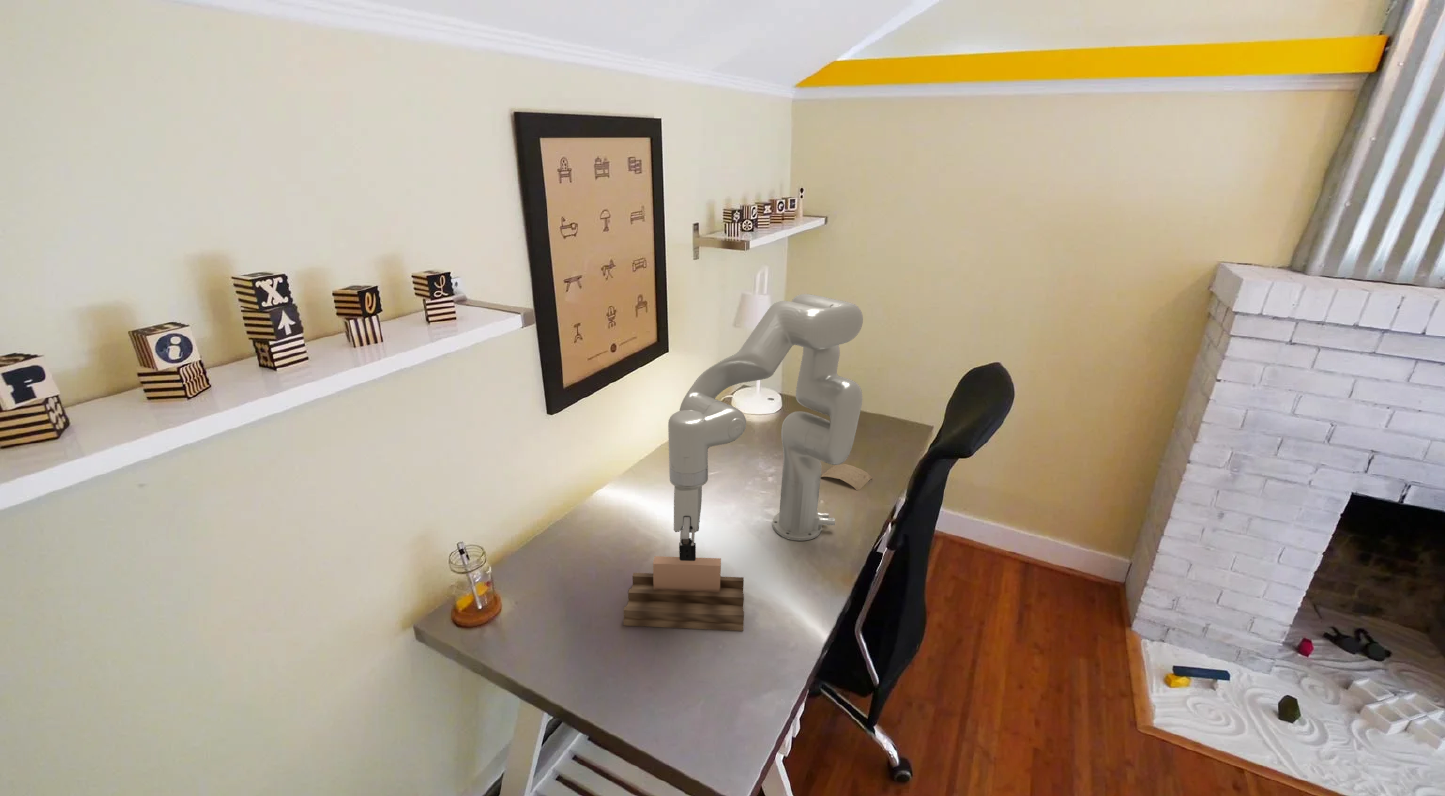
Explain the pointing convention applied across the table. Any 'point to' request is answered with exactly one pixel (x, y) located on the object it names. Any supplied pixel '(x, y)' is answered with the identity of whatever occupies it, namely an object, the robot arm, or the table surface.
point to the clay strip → (686, 574)
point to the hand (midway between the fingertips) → (689, 544)
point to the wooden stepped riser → (685, 606)
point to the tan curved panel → (848, 475)
